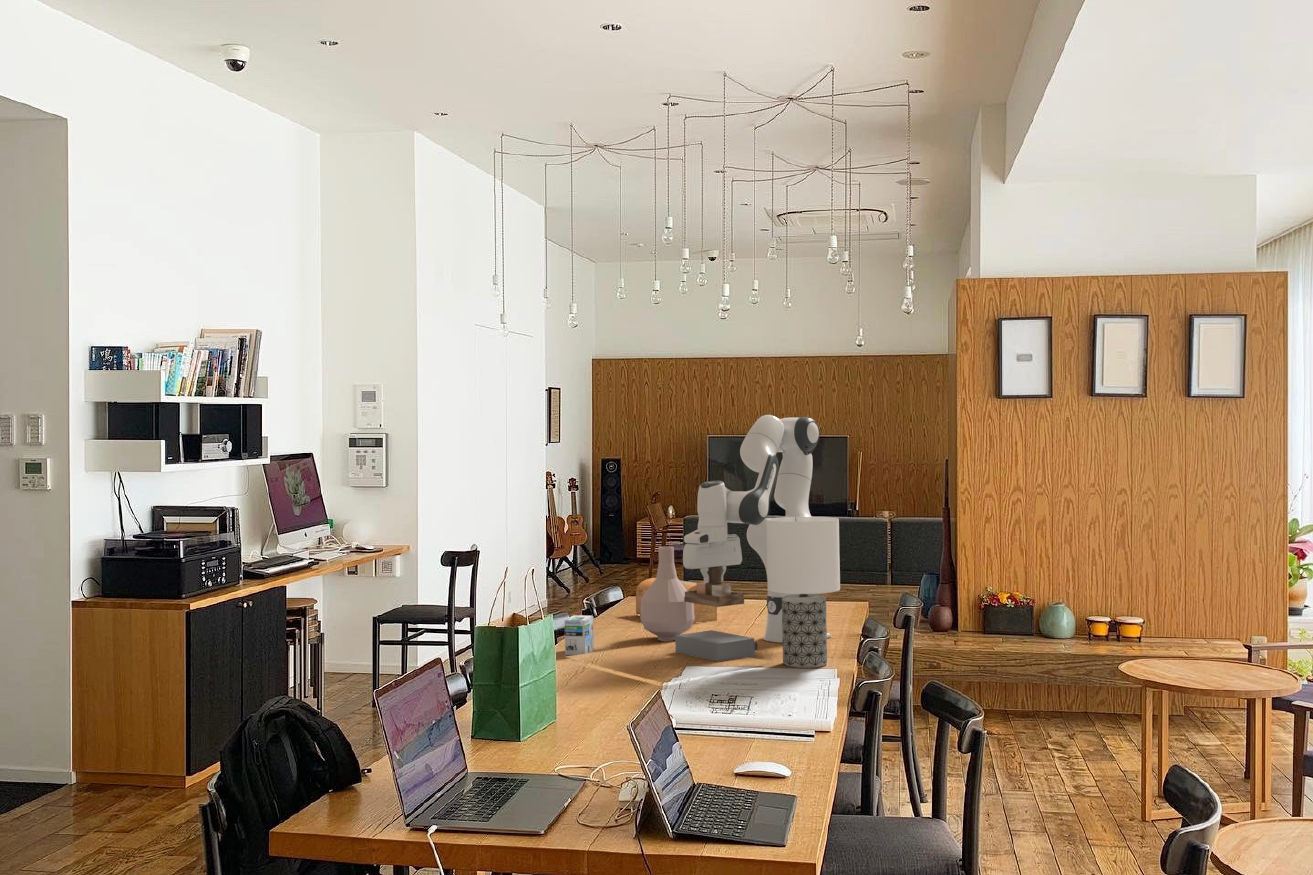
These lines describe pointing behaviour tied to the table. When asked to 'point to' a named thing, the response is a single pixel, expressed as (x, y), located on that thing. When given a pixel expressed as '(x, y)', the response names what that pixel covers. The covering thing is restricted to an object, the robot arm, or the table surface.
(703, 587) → the terracotta block
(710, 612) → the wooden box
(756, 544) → the robot arm
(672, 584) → the vase
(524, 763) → the table surface
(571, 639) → the light bulb box
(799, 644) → the lamp
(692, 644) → the loading dock
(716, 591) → the cream block
